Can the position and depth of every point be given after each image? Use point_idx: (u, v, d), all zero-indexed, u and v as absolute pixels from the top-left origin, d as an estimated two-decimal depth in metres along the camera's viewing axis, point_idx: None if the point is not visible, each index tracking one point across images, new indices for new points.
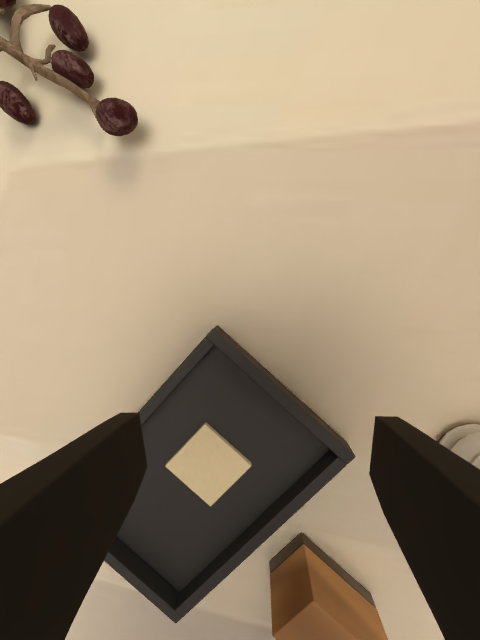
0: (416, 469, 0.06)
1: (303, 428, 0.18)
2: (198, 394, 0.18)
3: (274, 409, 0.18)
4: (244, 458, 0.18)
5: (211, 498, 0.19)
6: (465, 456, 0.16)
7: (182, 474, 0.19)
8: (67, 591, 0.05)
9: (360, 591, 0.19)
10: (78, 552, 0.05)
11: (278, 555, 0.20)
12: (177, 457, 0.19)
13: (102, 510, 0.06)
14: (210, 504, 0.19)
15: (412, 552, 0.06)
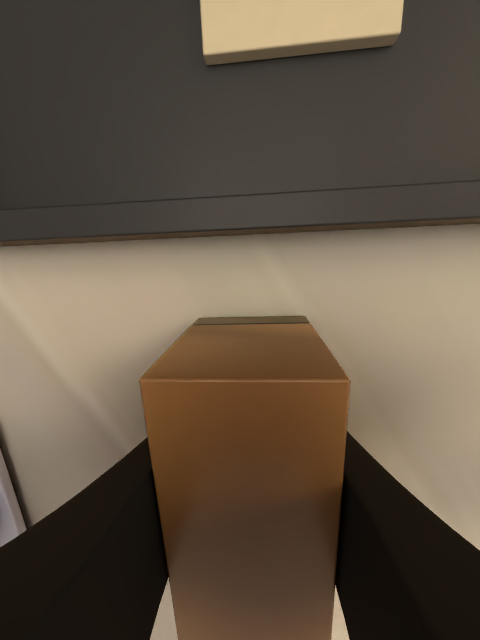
0: None
1: None
2: None
3: None
4: None
5: (225, 32, 0.06)
6: None
7: None
8: (149, 598, 0.05)
9: None
10: (156, 558, 0.05)
11: (227, 318, 0.08)
12: None
13: None
14: (208, 47, 0.06)
15: None
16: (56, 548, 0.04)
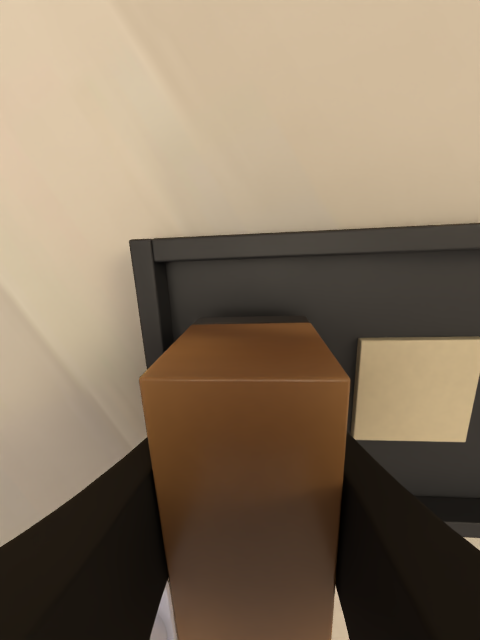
0: None
1: None
2: None
3: None
4: (466, 426, 0.11)
5: (367, 432, 0.11)
6: None
7: (370, 372, 0.10)
8: (149, 597, 0.05)
9: None
10: (156, 558, 0.05)
11: (227, 318, 0.08)
12: (393, 345, 0.10)
13: None
14: (357, 437, 0.11)
15: None
16: (56, 548, 0.04)
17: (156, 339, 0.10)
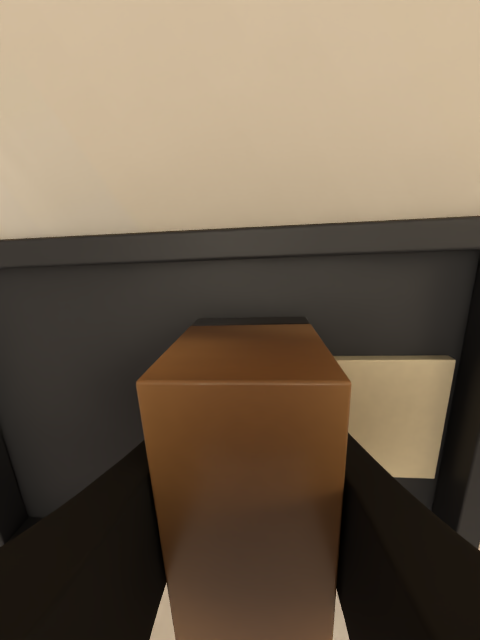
0: None
1: (422, 489, 0.10)
2: (341, 304, 0.08)
3: None
4: None
5: None
6: None
7: None
8: (148, 597, 0.05)
9: None
10: (156, 557, 0.05)
11: (226, 319, 0.08)
12: (345, 366, 0.08)
13: None
14: None
15: None
16: (56, 548, 0.04)
17: None
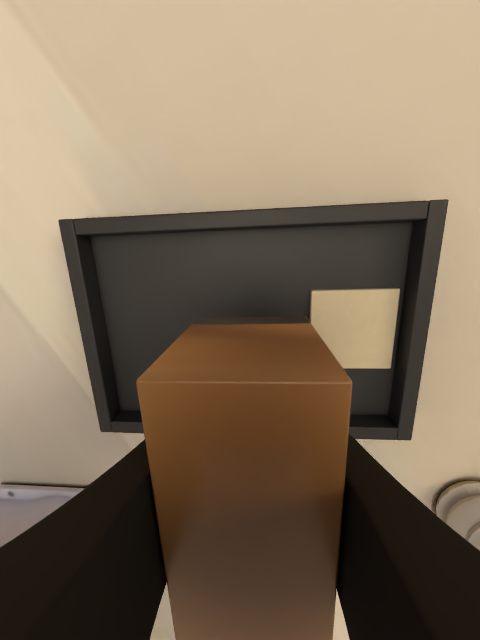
0: None
1: (384, 379, 0.15)
2: (332, 256, 0.13)
3: None
4: (391, 356, 0.14)
5: None
6: None
7: (319, 315, 0.14)
8: (148, 597, 0.05)
9: None
10: (156, 557, 0.05)
11: (226, 318, 0.08)
12: (334, 294, 0.14)
13: None
14: None
15: None
16: (56, 548, 0.04)
17: (81, 290, 0.14)
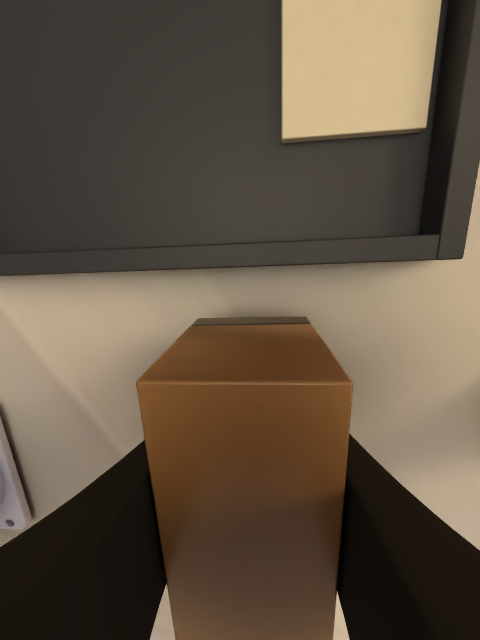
0: None
1: (413, 162, 0.09)
2: None
3: None
4: (427, 103, 0.08)
5: (299, 123, 0.08)
6: None
7: (297, 17, 0.08)
8: (149, 597, 0.05)
9: None
10: (156, 557, 0.05)
11: (227, 318, 0.08)
12: None
13: None
14: (286, 134, 0.08)
15: None
16: (56, 548, 0.04)
17: None
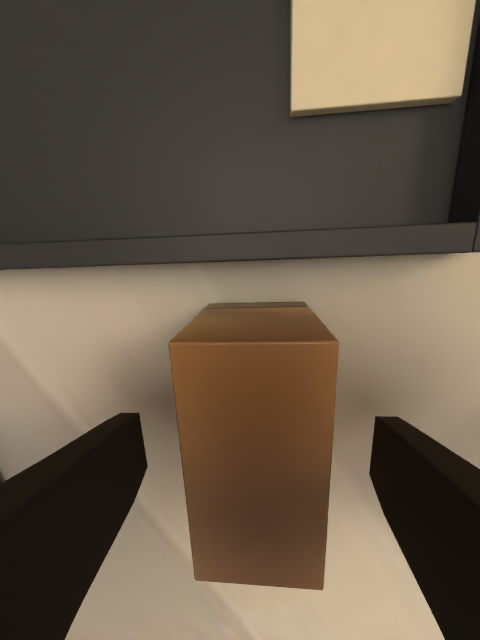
0: (416, 469, 0.06)
1: (444, 139, 0.07)
2: None
3: None
4: (463, 67, 0.07)
5: (311, 92, 0.07)
6: None
7: None
8: (67, 591, 0.05)
9: None
10: (78, 552, 0.05)
11: (234, 304, 0.09)
12: None
13: (102, 510, 0.06)
14: (296, 105, 0.07)
15: (413, 552, 0.06)
16: None
17: None
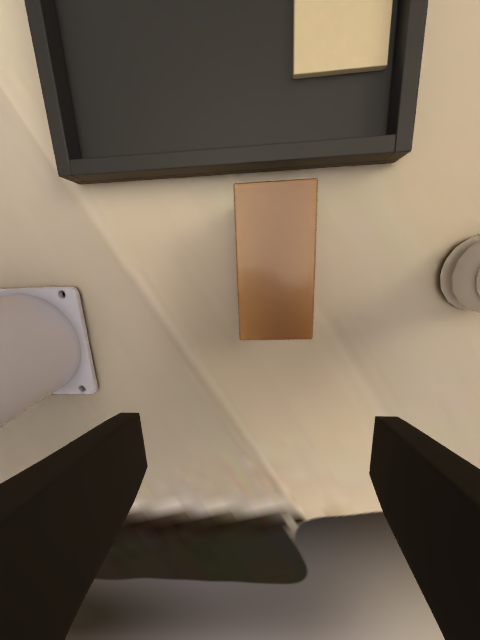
0: (416, 469, 0.06)
1: (380, 91, 0.13)
2: None
3: None
4: (387, 49, 0.12)
5: (305, 63, 0.13)
6: None
7: None
8: (67, 591, 0.05)
9: None
10: (78, 552, 0.05)
11: None
12: None
13: (102, 510, 0.06)
14: (296, 71, 0.13)
15: (412, 552, 0.06)
16: None
17: None
